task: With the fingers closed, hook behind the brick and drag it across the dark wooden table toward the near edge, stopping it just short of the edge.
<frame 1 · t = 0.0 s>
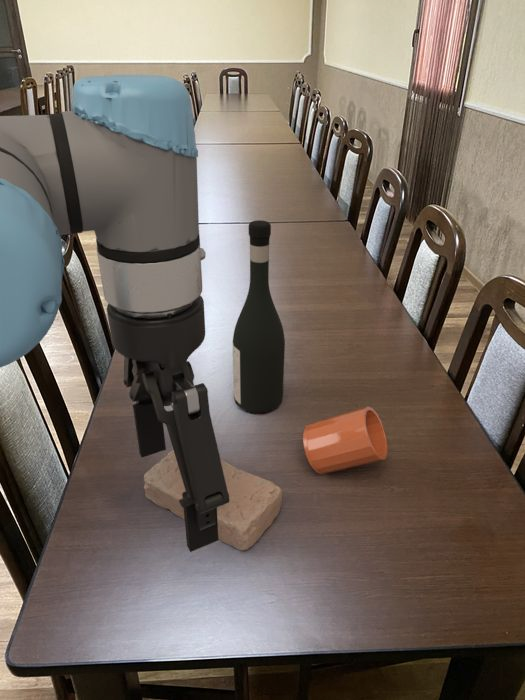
hand: (175, 493, 53), 13 cm above the table, tool pointing down, fingers open, 13 cm apart
brick: (211, 507, 69), on the table
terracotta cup: (316, 448, 74), point 3 cm above the table, tilted 59°
wine bottle: (258, 402, 88), on the table
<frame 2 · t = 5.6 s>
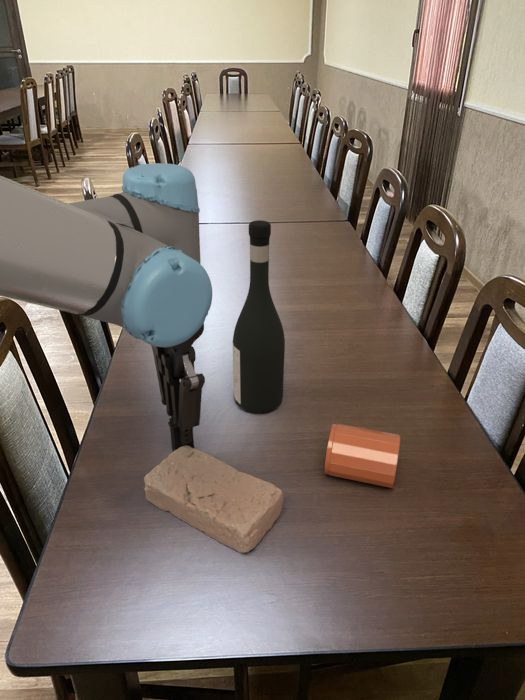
hand: (183, 455, 75), 1 cm above the table, tool pointing down, fingers closed
brick: (212, 509, 69), on the table, touching gripper
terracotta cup: (329, 448, 73), point 3 cm above the table, tilted 90°
everything else where it was.
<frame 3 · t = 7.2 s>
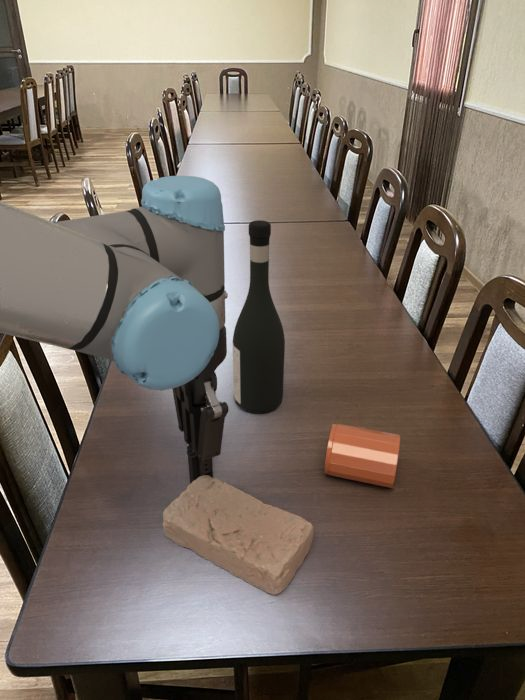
hand: (201, 484, 70), 1 cm above the table, tool pointing down, fingers closed
brick: (235, 544, 64), on the table, touching gripper
everything else where it was.
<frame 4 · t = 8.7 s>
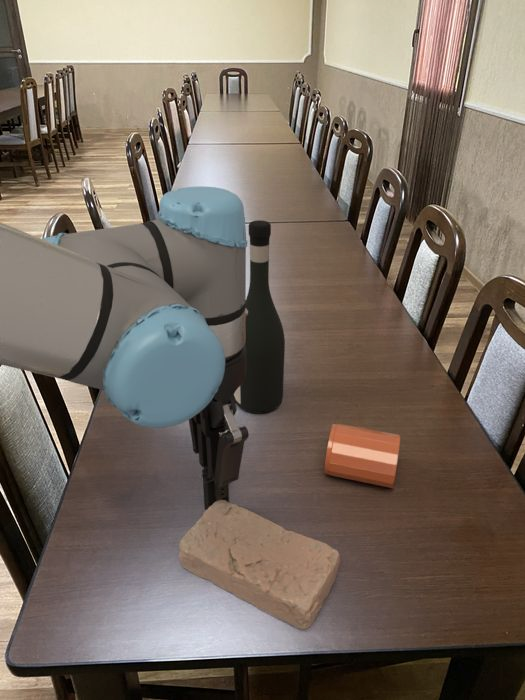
hand: (216, 508, 67), 1 cm above the table, tool pointing down, fingers closed
brick: (256, 573, 61), on the table, touching gripper
everything else where it was.
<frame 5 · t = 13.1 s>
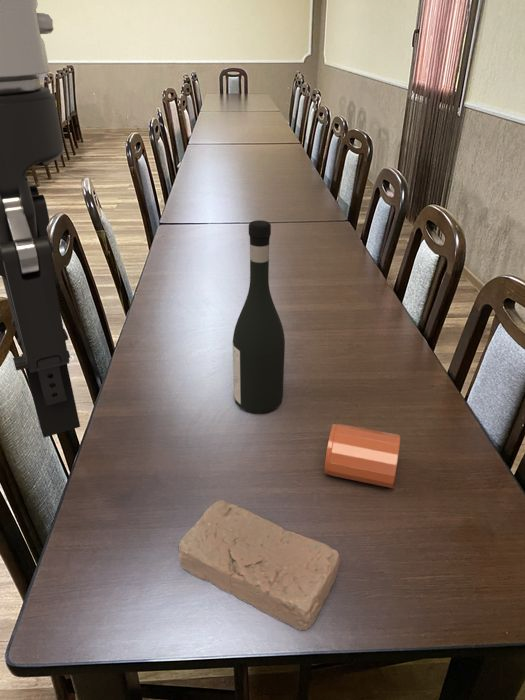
hand: (60, 426, 41), 26 cm above the table, tool pointing down, fingers closed
brick: (256, 574, 61), on the table
everything else where it was.
at the end: brick inside the target area (0.8 cm from its centre), on the table; brick moved 11.5 cm from its start; brick touching table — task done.
